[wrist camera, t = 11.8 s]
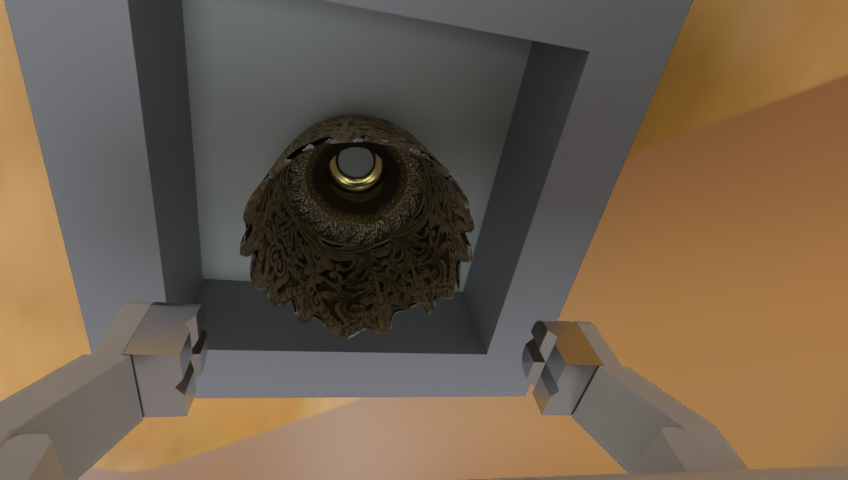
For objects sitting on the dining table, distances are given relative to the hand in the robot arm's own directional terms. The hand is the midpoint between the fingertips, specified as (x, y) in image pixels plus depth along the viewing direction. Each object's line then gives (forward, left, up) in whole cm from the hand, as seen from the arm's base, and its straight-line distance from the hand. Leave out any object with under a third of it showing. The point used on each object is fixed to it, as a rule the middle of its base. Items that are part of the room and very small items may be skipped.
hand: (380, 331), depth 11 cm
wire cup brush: (0, 0, -12) cm, 12 cm away
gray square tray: (0, 0, -13) cm, 13 cm away
